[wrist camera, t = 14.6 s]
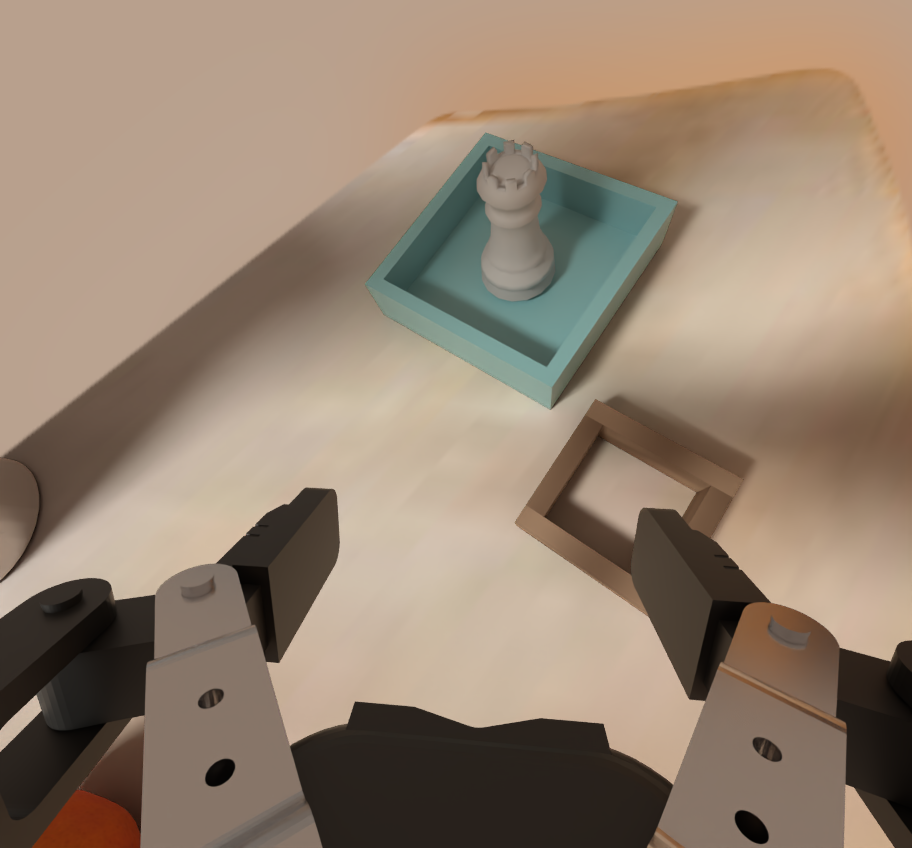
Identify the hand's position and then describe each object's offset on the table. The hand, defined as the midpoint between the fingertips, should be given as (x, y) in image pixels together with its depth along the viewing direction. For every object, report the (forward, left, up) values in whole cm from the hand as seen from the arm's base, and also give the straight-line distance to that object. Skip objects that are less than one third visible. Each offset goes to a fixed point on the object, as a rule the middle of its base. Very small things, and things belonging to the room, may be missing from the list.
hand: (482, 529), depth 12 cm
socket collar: (+3, +5, -12) cm, 13 cm away
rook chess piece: (-8, +14, -11) cm, 20 cm away
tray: (-9, +14, -12) cm, 20 cm away
